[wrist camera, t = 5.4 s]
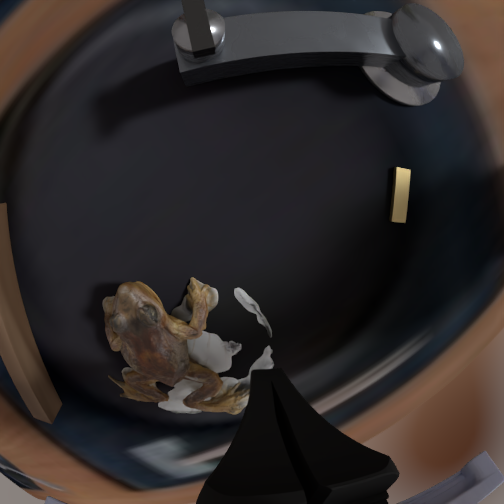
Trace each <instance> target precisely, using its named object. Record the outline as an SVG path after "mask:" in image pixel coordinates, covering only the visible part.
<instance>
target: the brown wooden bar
mask: <svg viewBox="0 0 504 504" xmlns="http://www.w3.org/2000/svg"><path fill="white" fill-rule="evenodd" d="M0 355H1V357H2V359H3V362H4V364H5V366H6V368H7V370H8V372H9V374H10V376H11V378H12V380H13V382H14V384H15V386H16V388H17V390H18V392H19V393H20V395H21V397H22V399H23V400H24V402H25V404H26V406H27V407H28V409H29V411H30V412H31V414H32V415H33V417H34V418H36V419H39V420H41V421H44V422H47V423H50V424H52V423H53V421H54V419H55V417H56V415H57V413H58V411H59V410H60V408H61V406H62V402H61V400H60V398H59V396H58V394H57V392H56V390H55V388H54V386H53V384H52V382H51V379H50V377H49V375H48V373H47V370H46V368H45V366H44V363H43V361H42V358H41V356H40V353H39V351H38V348H37V345H36V343H35V340H34V337H33V334H32V331H31V328H30V325H29V322H28V319H27V316H26V312H25V309H24V305H23V302H22V298H21V294H20V290H19V286H18V281H17V277H16V272H15V267H14V262H13V256H12V250H11V243H10V236H9V228H8V218H7V206H6V203H1V204H0Z"/></svg>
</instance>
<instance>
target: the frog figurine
mask: <svg viewBox="0 0 504 504" xmlns="http://www.w3.org/2000/svg"><path fill="white" fill-rule="evenodd" d="M187 289H188V294H187V295H186V296H185V297H184V300H183V302H182V304H181V306H179V307H176V308H175V309H173V311H172V313H171V315H167V313H166V311H165V310H164V308H163V305H162V303H161V301H160V299H159V297H158V296H157V295H156V293H155V292H154V291H153V290H152V289H150V288H149V287H148V286H147V285H145V284H143V283H142V282H138V281H137V282H126V283H123V284H121V285H120V286H119V288H118V290H117V293H116V295H115V296H113V297H106V298H105V299H104V300H103V308H104V311H105V318H104V320H105V324H106V325H105V331H106V335H107V339H108V341H109V344H110V347H111V349H112V350H113V351H120V350H121V353H122V355H123V357H124V359H125V361H126V362H127V363H128V364H129V366H130V367H131V368H128V367H127V368H123V370H122V376H123V379H124V382H121V381H119V380H116V379H114V378H113V377H111V376H110V375H108V376H109V378H110V379H112V381H114V383H116V384H117V385H119V386H120V387H121V388H122V389H123V390H124V393H121V394H120V396H121V397H127V398H130V399H135V400H137V401H145V402H155V403H156V402H159V403H158V407H160V408H163V409H165V410H170V411H172V412H175V413H190V414H192V413H200V412H202V411H211V412H228V413H230V414H233V415H235V414H238V413H239V412H241V411H242V409H243V408H244V407H245V406H247V403H248V399H249V393H250V375H251V371H252V370H253V369H272V368H273V366H274V363H273V361H272V358H271V357H270V354H271V353H272V352H273V350H272V349H271V348H270V346H267V347H266V348H265V350H264V354H263V355H262V356H261V357H260V358H259V359H258V360H257V361H256V362H255V363H254V364H253V365H252V366H251V368H250V371H249V375H248V376H247V377H246V378H242V379H239V380H237V379H235V378H231V377H221V378H220V377H219V375H218V374H217V373H219V372H224V371H227V370H229V369H230V367H231V364H232V360H231V357H232V356H233V355H235V354H236V353H237V352H238V351H240V350H241V344H239V345H238V343H237V344H236V343H235V342H233V341H229V343H228V342H223V341H222V340H221V339H220V338H219V336H218V335H216V334H212V333H207V332H205V331H202V330H204V329H206V318H207V316H208V312H210V311H211V310H212V309H213V308H215V307H216V305H217V303H218V292H217V290H216V289H215V288H211V287H210V286H209V285H207V284H203V283H201V282H199V281H197V280H196V279H195V278H193V277H192V278H190V284H189V285H188V286H187ZM234 295H235V297H236V299H237V300H238V301H239V302H240V303H241V304H242V305H243V306H244V307H245V308H246V309H247V310H248V311H250V312H252V313H254V314H256V315H257V320H258V322H259V323H260V324H262V325H264V326H265V327H266V329H267V333H268V335H269V336H270V338H271V337H272V330H271V327H270V325H269V324H268V322H267V320H266V318H265V316H264V315H263V314H262V313H261V311H260V308H259V306H258V304H257V303H256V302H255V301H254V300H253V299H252V298H251V297H249V296H248V295H247V293H246V292H245V291H243V290H242V289H240V288H236V289H235V290H234ZM189 320H191V321H190V323H189V324H187V323H186V321H189ZM231 347H232V348H231ZM157 381H160V382H162V383H164V384H167V385H169V386H171V387H173V386H174V387H175V388H174V389H173V390H171V391H169V392H168V395H169V397H168V395H167V394H165V393H163V392H162V391H160V390H159V389H158V388H157V387H156V384H155V383H156V382H157Z"/></svg>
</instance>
